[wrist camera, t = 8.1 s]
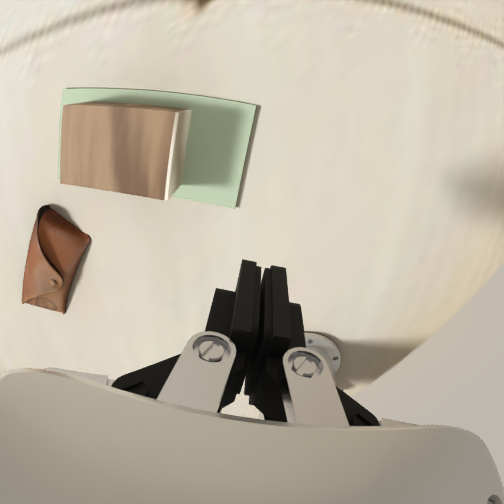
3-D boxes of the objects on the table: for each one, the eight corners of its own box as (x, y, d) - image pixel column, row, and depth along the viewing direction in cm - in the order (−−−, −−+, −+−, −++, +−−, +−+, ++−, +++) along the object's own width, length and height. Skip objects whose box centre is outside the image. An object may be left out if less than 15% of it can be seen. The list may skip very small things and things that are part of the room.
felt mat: (256, 105, 27) (256, 105, 27) (235, 207, 33) (234, 208, 32) (64, 88, 26) (62, 88, 26) (60, 177, 31) (58, 178, 31)
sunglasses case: (66, 318, 42) (33, 330, 36) (48, 286, 44) (16, 295, 38) (93, 235, 35) (48, 242, 29) (71, 201, 37) (30, 204, 31)
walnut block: (179, 112, 23) (63, 105, 22) (167, 200, 27) (60, 183, 26) (192, 109, 27) (88, 101, 27) (181, 185, 31) (84, 170, 30)
